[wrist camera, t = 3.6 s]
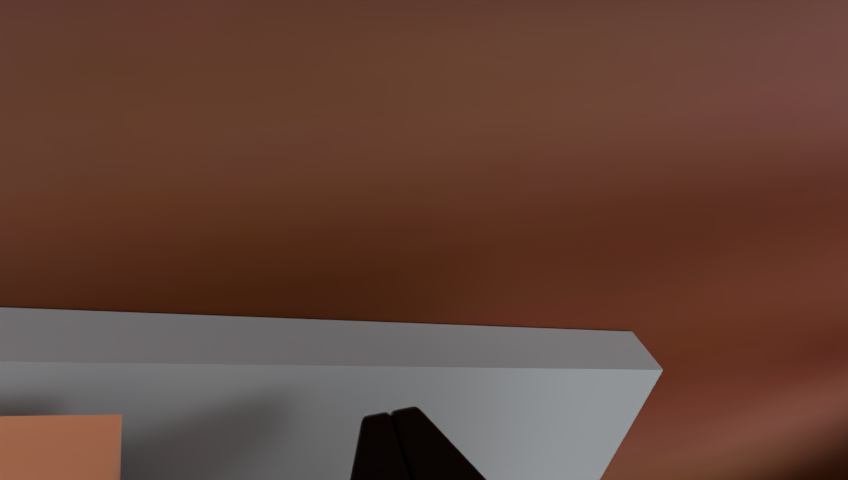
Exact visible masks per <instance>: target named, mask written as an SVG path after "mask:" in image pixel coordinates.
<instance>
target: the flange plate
mask: <svg viewBox="0 0 848 480" xmlns="http://www.w3.org/2000/svg"><path fill="white" fill-rule="evenodd" d="M121 429H122V414H119V415H44V416H0V480H120V476H121Z"/></svg>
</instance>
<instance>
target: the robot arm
mask: <svg viewBox="0 0 848 480" xmlns="http://www.w3.org/2000/svg"><path fill="white" fill-rule="evenodd" d="M350 480H486V478H485V477H484V476H483V475H482V474H481V473H480V472H479V471H478V470H477V469H476V468H475V467H474V466H473V465H472V464H471V463H470V461H469V460H468V459H467V458H466V457H465V456H464V455H463V454H462V453H461V452H460V451H459V450H458V449H457V448H456V447H455V446H454V444H453V443H452V442H451V441H450V440H449V439H448V438H447V437H446V436H445V435H444V434H443V433H442V432H441V431H440V430H439V429H438V427H437V426H436V425H435V424H434V423H433V422H432V421H431V420H430V419H429V418H428V417H427V416H426V415H425V414H424V413H423V412H422V411H421V410H420V409H419V408H418V407H415V406H412V407H407V408H402V409H397V410H394V411H392V412H391V414H389V413H387V412H382V413H377V414H372V415H367V416H364V417H363V419H362V421H361V425H360V431H359V436H358V441H357V446H356V451H355V456H354V462H353V467H352V472H351V477H350Z"/></svg>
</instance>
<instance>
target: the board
mask: <svg viewBox="0 0 848 480" xmlns="http://www.w3.org/2000/svg"><path fill="white" fill-rule="evenodd" d="M662 371H663V369H662V368H661V367H660V365H659V364H658V363H657V362H656V361H655V359H654V358H653V357H652V356H651V354H650V353H649V352H648V351H647V349H646V348H645V347H644V346H643V344H642V343H641V342H640V341H639V340H638V338H637V337H636V336H635V335H634V333H633V332H630V331H604V330H578V329H552V328H526V327H500V326H474V325H448V324H422V323H396V322H370V321H344V320H318V319H292V318H266V317H240V316H214V315H188V314H162V313H136V312H110V311H84V310H58V309H32V308H6V307H0V416H44V415H119V414H122V429H121V476H120V480H350V477H351V472H352V467H353V462H354V456H355V451H356V446H357V441H358V436H359V431H360V425H361V421H362V419H363V417H364V416H367V415H372V414H377V413H382V412H387V413H389V414H391V412H392V411H394V410H397V409H402V408H407V407H412V406H415V407H418V408H419V409H420V410H421V411H422V412H423V413H424V414H425V415H426V416H427V417H428V418H429V419H430V420H431V421H432V422H433V423H434V424H435V425H436V426H437V427H438V429H439V430H440V431H441V432H442V433H443V434H444V435H445V436H446V437H447V438H448V439H449V440H450V441H451V442H452V443H453V444H454V446H455V447H456V448H457V449H458V450H459V451H460V452H461V453H462V454H463V455H464V456H465V457H466V458H467V459H468V460H469V461H470V463H471V464H472V465H473V466H474V467H475V468H476V469H477V470H478V471H479V472H480V473H481V474H482V475H483V476H484V477H485V478H486V480H600V478H601V476H602V475H603V473H604V471H605V470H606V468H607V466H608V464H609V463H610V461H611V459H612V457H613V456H614V454H615V452H616V451H617V449H618V447H619V445H620V444H621V442H622V440H623V438H624V437H625V435H626V433H627V432H628V430H629V428H630V426H631V425H632V423H633V421H634V419H635V418H636V416H637V414H638V413H639V411H640V409H641V407H642V406H643V404H644V402H645V400H646V399H647V397H648V395H649V394H650V392H651V390H652V388H653V387H654V385H655V383H656V381H657V380H658V378H659V376H660V375H661V373H662Z"/></svg>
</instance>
